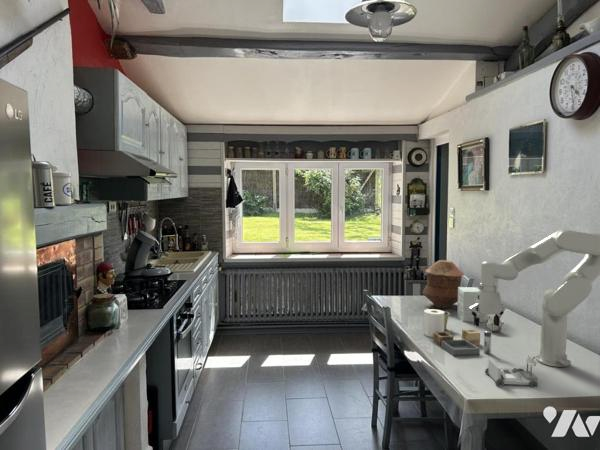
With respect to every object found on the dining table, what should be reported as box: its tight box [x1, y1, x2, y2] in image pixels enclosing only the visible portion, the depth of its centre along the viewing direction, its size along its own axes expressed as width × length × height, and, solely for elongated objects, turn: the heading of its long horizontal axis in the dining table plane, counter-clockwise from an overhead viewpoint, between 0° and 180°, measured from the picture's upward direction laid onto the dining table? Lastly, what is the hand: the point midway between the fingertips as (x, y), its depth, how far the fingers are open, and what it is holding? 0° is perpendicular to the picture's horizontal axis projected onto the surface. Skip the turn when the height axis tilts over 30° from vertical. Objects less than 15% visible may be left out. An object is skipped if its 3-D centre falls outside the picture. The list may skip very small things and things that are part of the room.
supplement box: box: [456, 286, 488, 323], centre depth 256 cm, size 13×13×18 cm
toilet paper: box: [423, 308, 445, 338], centre depth 227 cm, size 10×10×12 cm
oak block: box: [461, 328, 481, 346], centre depth 214 cm, size 6×6×6 cm
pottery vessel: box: [422, 259, 465, 309], centre depth 284 cm, size 26×26×30 cm
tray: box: [440, 339, 481, 357], centre depth 203 cm, size 12×12×3 cm
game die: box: [484, 315, 504, 333], centre depth 233 cm, size 9×8×10 cm
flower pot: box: [443, 310, 451, 331], centre depth 237 cm, size 9×9×9 cm
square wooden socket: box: [432, 331, 454, 347], centre depth 213 cm, size 7×7×4 cm
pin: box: [483, 330, 492, 355], centre depth 200 cm, size 3×3×10 cm
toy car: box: [484, 355, 539, 388], centre depth 171 cm, size 18×10×12 cm
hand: (486, 325), depth 200 cm, fingers open, 9 cm apart
